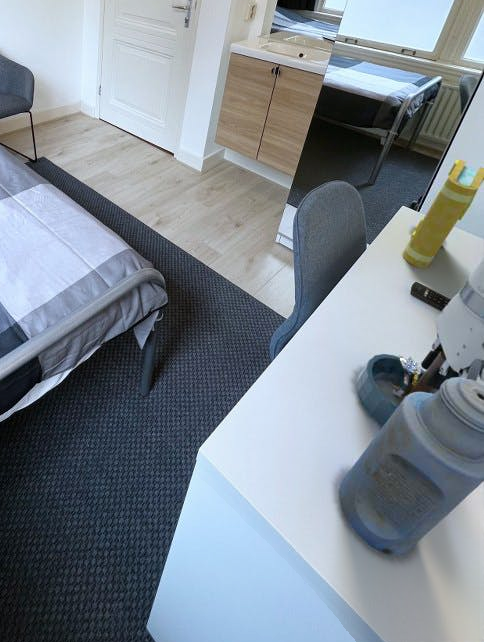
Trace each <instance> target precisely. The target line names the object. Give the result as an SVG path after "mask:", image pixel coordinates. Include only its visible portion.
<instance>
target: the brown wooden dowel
mask: <svg viewBox="0 0 484 642" xmlns="http://www.w3.org/2000/svg"><path fill="white" fill-rule="evenodd" d="M445 360H446V356H445V353H444V351H441V352H440V353H439V354H438V356H437V357H436V358H435V360H434V361H433V362H432V363H431V365H430V366H429V367H428V369H427V370H426V369H425V370H424V371H425V373H424V374H423V375H422V377H421V378H420V379H419V380H418V382H417V383H416V384H415V386H414V387H413V388H412V390H411V391H410V392H409V394H411V393H414V392H426V393H431V394H434V393H436V392H437V391H438V390H437V389H435V388H432V387H429V386H427V384H426V380H427V379H428V378H429V376H430V375H431V374H432V373H433V371H434V370H435V369H436V367H437V368H441V366H442V365H443V363H444V362H445ZM451 370H453V369H452V368H451ZM409 394H408V395H409ZM408 395H407V396H408Z"/></svg>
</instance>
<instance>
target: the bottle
mask: <svg viewBox="0 0 484 642" xmlns="http://www.w3.org/2000/svg"><path fill="white" fill-rule="evenodd" d="M396 407H397V409H396V410H395V411H394V413H393V414H392V415H391V417H390V418H389V419H388V421H387V422H386V423H385V425H384V426H382V427H381V428H380V430H379V431H378V432H377V434H376V435H375V436H374V438H373V439H372V440H371V442H370V443H369V444H368V446H367V447H366V449H365V450H364V451H363V452H362V454H361V455H360V456H359V458H358V459H357V460H356V461H355V463H354V464H353V465H352V467H351V468H350V469H349V470H348V471H347V473H346V475H345V476H344V477H343V479H341V482H340V484H339V488H338V499H339V503H340V506H341V508H342V512H343V513H344V517H345V518H346V520H347V522H348V523H349V525H350V526H351V527H352V529H353V530H354V531H355V533H356V534H357V535H358V536H359V537H360V538H361V539H362V540H363V541H364V542H365V543H367V544H368V545H369V546H370V547H372V548H373V549H375V550H377V551H378V552H381V553H383V554H385V555H388V556H402V555H405V554H407V552H409V551H410V550H411V549H412V548H413V547H414V546H416V545H417V543H418V542H420V541H421V540H422V539H423V538H424V537H425V536H426V535H427V534H428V533H429V532H430V531H432V530H433V529H434V528H435V527H436V526H437V525H438V524H440V522H441V521H443V520H444V519H445V518H446V517H447V516H448V515H449V514H450V513H451V512H452V511H453V510H455V509H456V508H457V507H458V506H459V505H460V504H461V503H462V502H463V501H464V500H465V499H466V498H467V497H468V496H470V495H471V494H472V493H473V492H474V491H475V490H476V489H477V488H478V487H480V486H481V485H482V483H484V384H482V383H481V382H478V380H477V381H474V380H471V379H465V378H459V377H455V378H450V379H447V380H446V381H444V382H443V383H442V384H441V386H440V389H439V391H437V392H436V393H434V394H431V393H426V392H414V393H411V394H409V395H408V396H405V397H403V398H402V401H401V402H399V405H398V406H396Z"/></svg>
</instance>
